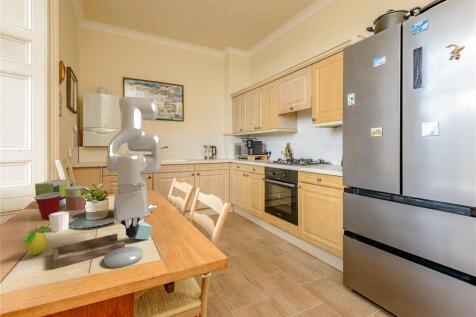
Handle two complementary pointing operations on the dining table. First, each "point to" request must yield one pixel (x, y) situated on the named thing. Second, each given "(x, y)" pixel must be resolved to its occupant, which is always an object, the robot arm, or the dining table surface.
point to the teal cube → (142, 231)
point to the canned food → (74, 198)
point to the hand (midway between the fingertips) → (130, 236)
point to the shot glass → (59, 221)
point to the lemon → (36, 241)
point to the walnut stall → (84, 255)
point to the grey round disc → (122, 257)
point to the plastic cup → (48, 203)
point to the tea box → (53, 188)
